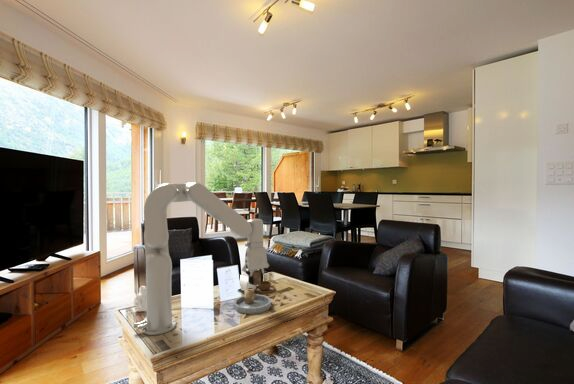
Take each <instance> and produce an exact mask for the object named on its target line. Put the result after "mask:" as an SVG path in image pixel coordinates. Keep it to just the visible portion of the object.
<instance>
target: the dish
mask: <svg viewBox="0 0 574 384" xmlns="http://www.w3.org/2000/svg"><path fill="white" fill-rule="evenodd" d="M271 307H272V298H270V297H269V296H267V295H265V294H260V293H256V294H255V293H254V303H253V304H245V295H241V296H239V297H237V298H235V299H234V300H233V307H232V308H233V309H234V310H235V312H238V313H241V314H247V315H252V314H260V313H263V312H266V311H268V310H269V309H270V308H271Z"/></svg>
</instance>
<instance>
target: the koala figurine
mask: <svg viewBox="0 0 574 384" xmlns="http://www.w3.org/2000/svg"><path fill="white" fill-rule="evenodd" d="M133 305H134V306H135V307H138V308H137V310H136V312H138V313H139V312H146V313H147V307H146V285H141V286H140V287H138V293H137V294H136V295H135V297H134V301H133Z"/></svg>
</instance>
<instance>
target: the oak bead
mask: <svg viewBox="0 0 574 384" xmlns="http://www.w3.org/2000/svg"><path fill="white" fill-rule="evenodd" d="M254 294H255V291H254V290H253V289H246V290H245V291H244V296H245V304H253V303H254Z"/></svg>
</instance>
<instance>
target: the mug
mask: <svg viewBox="0 0 574 384" xmlns="http://www.w3.org/2000/svg"><path fill="white" fill-rule="evenodd" d="M239 275H240V286H241V290H240V291H243V292H245V290H246V289H248V288H253V290H255V289H256V286H258V285H251V284H250V283H249V279H248V275H243V274H239ZM256 290H257V289H256Z"/></svg>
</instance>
